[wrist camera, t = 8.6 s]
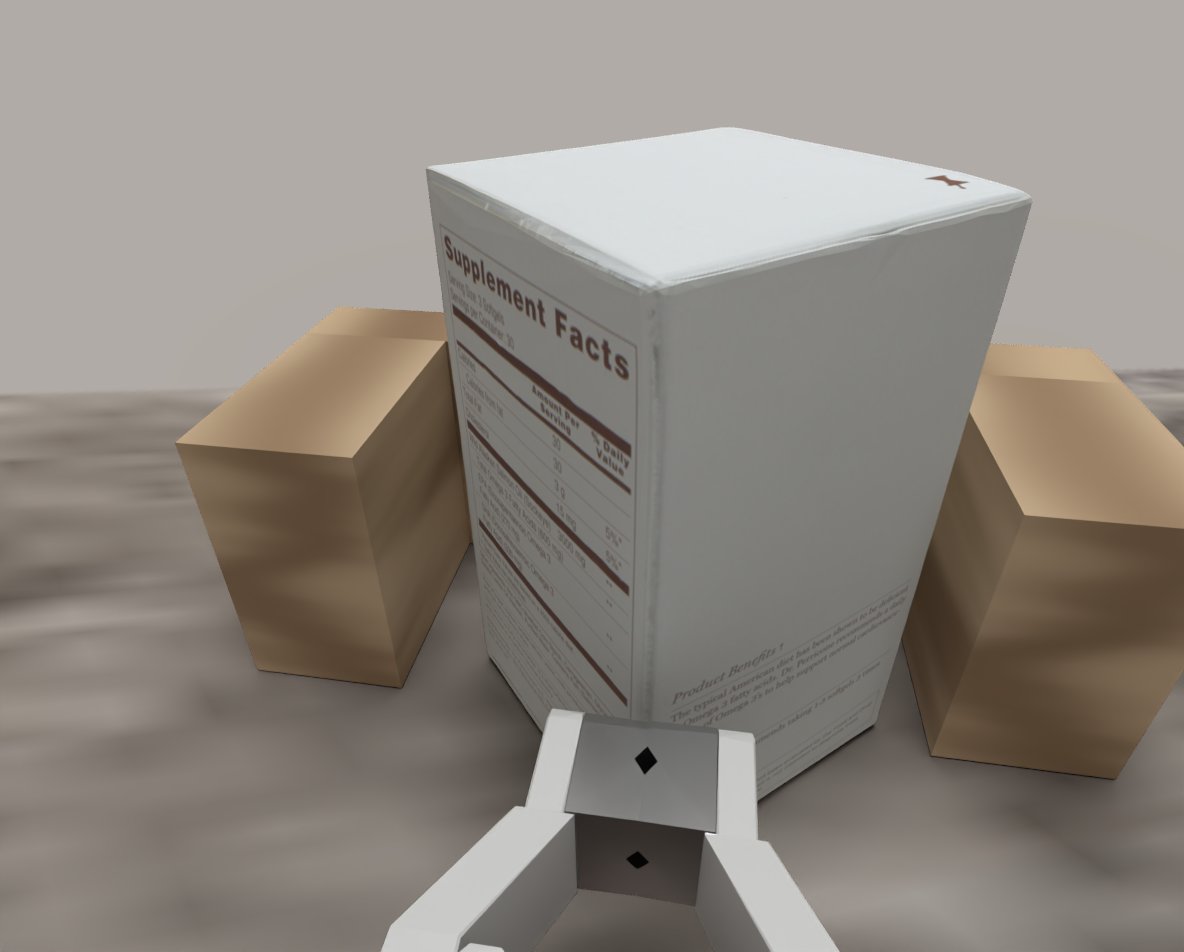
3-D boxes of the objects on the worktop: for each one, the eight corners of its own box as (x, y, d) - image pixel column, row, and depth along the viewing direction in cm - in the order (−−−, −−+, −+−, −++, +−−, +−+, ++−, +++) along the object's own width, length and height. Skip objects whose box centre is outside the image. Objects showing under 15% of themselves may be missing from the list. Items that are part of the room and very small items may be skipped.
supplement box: (694, 561, 24) (735, 119, 17) (884, 730, 18) (1061, 185, 11) (478, 655, 20) (414, 156, 13) (631, 892, 15) (659, 271, 8)
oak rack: (257, 669, 20) (174, 442, 16) (376, 496, 26) (338, 306, 23) (1115, 779, 17) (1267, 535, 13) (1010, 555, 24) (1091, 349, 20)
